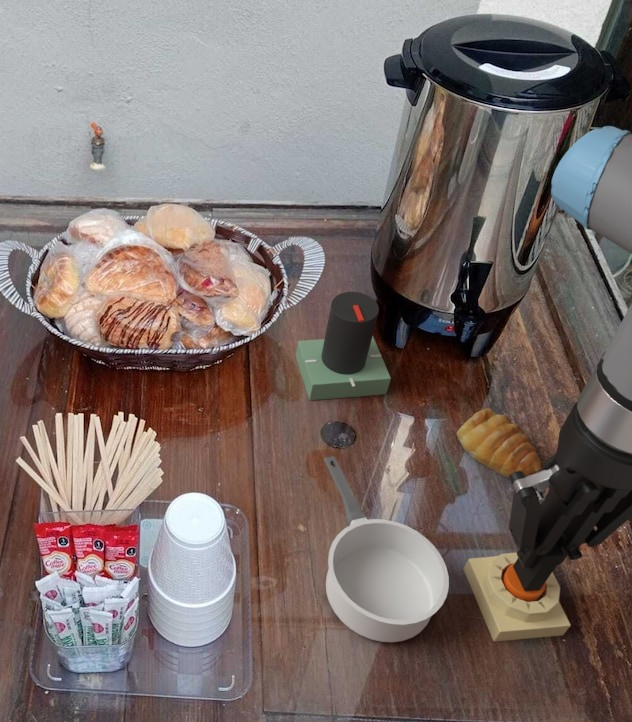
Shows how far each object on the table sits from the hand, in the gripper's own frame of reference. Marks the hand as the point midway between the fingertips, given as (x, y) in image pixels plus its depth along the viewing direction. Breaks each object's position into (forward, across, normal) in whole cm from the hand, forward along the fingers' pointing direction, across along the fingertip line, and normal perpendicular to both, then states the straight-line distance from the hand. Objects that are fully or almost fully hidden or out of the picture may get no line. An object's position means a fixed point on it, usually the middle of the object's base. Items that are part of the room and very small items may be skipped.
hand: (526, 577), depth 75 cm
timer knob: (+2, -9, +33) cm, 34 cm away
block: (+5, 0, 0) cm, 5 cm away
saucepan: (+5, -14, +6) cm, 16 cm away
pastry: (+5, +6, +19) cm, 21 cm away
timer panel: (+5, -9, +33) cm, 35 cm away
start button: (+2, 0, 0) cm, 2 cm away
